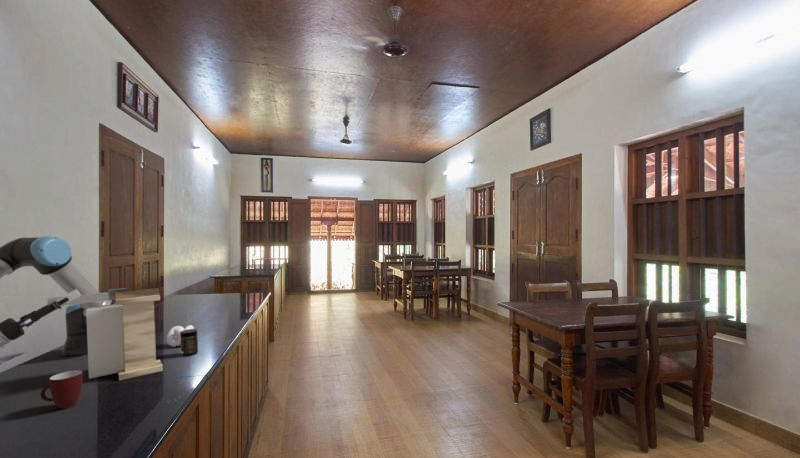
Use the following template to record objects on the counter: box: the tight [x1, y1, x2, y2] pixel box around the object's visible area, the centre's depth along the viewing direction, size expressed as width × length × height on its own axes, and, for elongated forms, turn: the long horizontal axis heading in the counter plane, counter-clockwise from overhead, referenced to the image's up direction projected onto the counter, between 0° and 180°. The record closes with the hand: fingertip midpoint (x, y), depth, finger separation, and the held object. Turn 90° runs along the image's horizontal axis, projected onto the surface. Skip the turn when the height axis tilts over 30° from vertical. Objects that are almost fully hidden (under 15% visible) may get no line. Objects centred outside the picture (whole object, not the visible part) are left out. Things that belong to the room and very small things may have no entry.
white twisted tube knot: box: [166, 324, 195, 348], centre depth 186 cm, size 11×12×9 cm
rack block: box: [86, 304, 124, 379], centre depth 152 cm, size 8×11×26 cm
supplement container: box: [180, 328, 199, 357], centre depth 171 cm, size 7×7×10 cm
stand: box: [114, 287, 164, 381], centre depth 151 cm, size 10×14×32 cm
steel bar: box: [46, 287, 128, 307], centre depth 149 cm, size 3×24×4 cm, turn 128°
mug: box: [39, 369, 84, 410], centre depth 121 cm, size 11×8×10 cm
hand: (78, 292), depth 147 cm, fingers closed on steel bar, 3 cm apart
